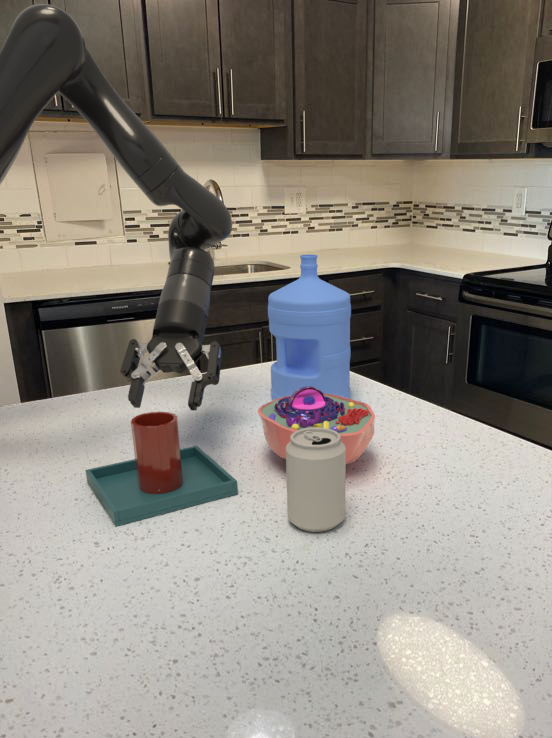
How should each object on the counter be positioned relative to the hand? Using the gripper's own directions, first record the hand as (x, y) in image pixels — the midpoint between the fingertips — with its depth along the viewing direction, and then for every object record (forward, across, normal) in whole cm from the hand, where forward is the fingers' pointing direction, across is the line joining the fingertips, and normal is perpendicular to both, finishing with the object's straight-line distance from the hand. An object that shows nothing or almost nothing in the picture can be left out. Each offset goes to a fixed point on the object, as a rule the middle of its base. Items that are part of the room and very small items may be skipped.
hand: (163, 407), depth 95 cm
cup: (+10, 0, +5) cm, 11 cm away
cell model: (+2, +21, +14) cm, 25 cm away
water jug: (-18, +16, +34) cm, 42 cm away
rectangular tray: (+11, 0, +5) cm, 12 cm away
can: (+15, +24, 0) cm, 28 cm away
